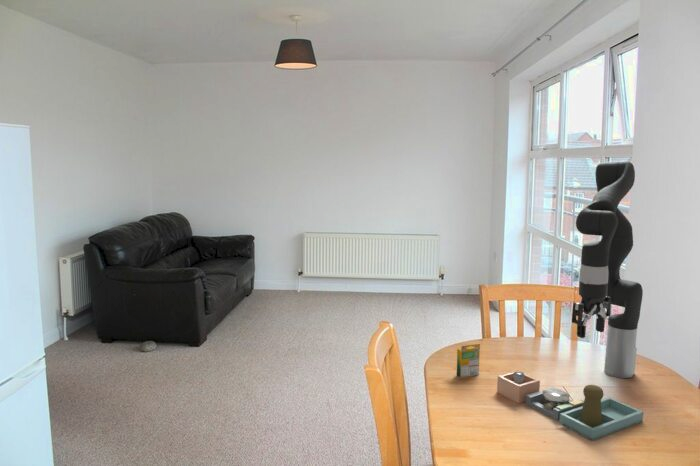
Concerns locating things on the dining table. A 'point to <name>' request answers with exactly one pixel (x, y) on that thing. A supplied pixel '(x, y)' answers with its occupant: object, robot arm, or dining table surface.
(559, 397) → the silver domed disc
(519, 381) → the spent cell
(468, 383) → the dining table surface
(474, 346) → the crayon box
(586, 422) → the olive gourd
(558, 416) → the checker cradle
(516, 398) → the cup
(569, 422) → the teal divided tray
